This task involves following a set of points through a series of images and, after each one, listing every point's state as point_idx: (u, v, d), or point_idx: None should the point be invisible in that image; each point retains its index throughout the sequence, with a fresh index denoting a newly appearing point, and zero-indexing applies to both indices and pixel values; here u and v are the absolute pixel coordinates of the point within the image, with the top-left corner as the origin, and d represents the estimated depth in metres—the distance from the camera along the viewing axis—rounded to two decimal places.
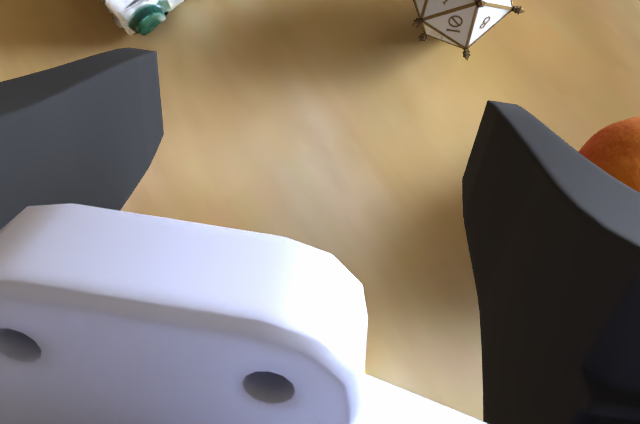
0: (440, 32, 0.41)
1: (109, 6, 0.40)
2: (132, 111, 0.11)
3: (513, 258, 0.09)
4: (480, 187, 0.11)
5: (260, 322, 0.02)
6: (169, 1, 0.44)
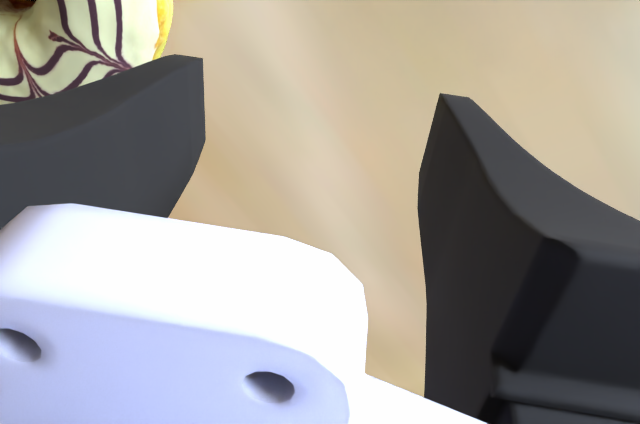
0: None
1: None
2: (181, 117, 0.11)
3: (451, 249, 0.09)
4: (430, 181, 0.11)
5: (260, 322, 0.02)
6: None
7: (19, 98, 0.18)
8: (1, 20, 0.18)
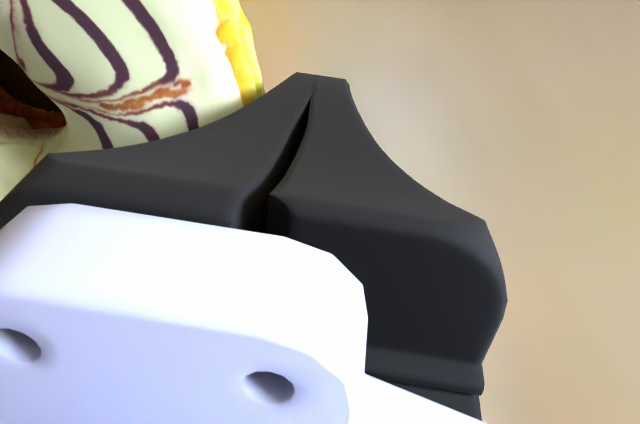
0: None
1: None
2: None
3: None
4: None
5: (260, 322, 0.02)
6: None
7: None
8: (13, 152, 0.12)
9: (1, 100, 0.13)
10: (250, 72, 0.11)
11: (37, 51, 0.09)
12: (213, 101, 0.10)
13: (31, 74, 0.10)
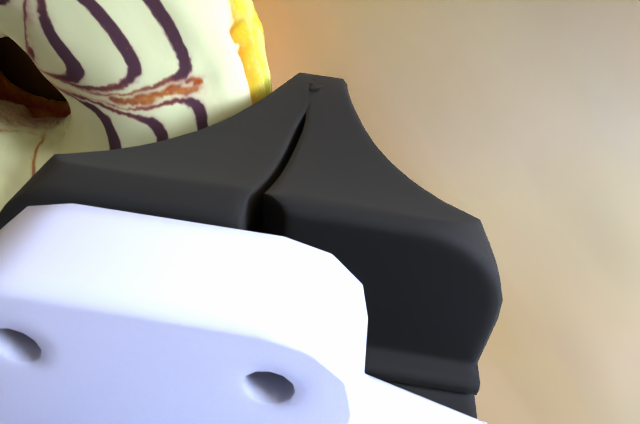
0: None
1: None
2: None
3: None
4: None
5: (259, 322, 0.02)
6: None
7: None
8: (13, 140, 0.12)
9: (1, 86, 0.13)
10: (260, 72, 0.10)
11: (48, 41, 0.09)
12: (224, 99, 0.10)
13: (40, 63, 0.10)
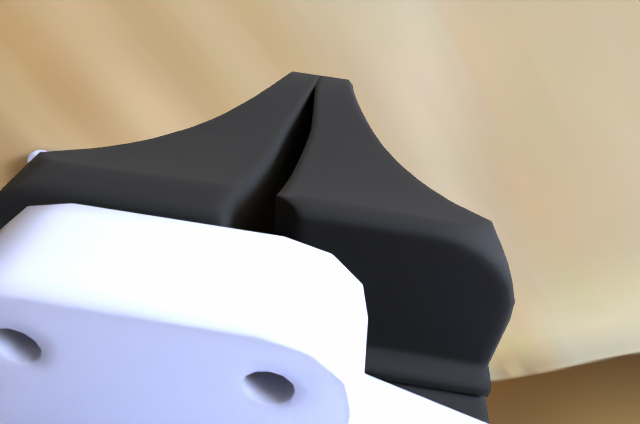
0: None
1: None
2: (306, 137, 0.11)
3: None
4: None
5: (259, 322, 0.02)
6: None
7: None
8: None
9: None
10: None
11: None
12: None
13: None
